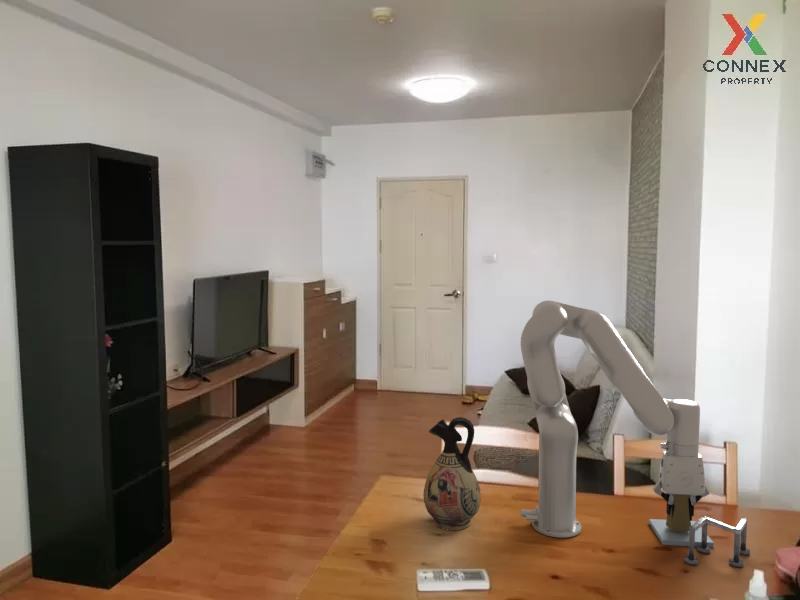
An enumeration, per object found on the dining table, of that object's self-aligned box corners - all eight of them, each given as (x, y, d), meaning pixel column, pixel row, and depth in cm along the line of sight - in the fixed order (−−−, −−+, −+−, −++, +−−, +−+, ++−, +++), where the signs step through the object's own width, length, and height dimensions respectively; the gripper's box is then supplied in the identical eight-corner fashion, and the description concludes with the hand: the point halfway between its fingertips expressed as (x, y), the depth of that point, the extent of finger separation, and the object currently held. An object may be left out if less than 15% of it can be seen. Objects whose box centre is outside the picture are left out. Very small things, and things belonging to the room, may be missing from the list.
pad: (662, 544, 150) (663, 540, 150) (649, 523, 162) (649, 519, 162) (713, 547, 149) (713, 542, 149) (695, 525, 161) (696, 521, 161)
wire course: (686, 565, 141) (687, 529, 140) (674, 546, 149) (675, 512, 149) (764, 569, 138) (765, 532, 138) (746, 549, 147) (748, 515, 147)
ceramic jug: (415, 531, 159) (414, 420, 156) (434, 508, 173) (433, 405, 170) (478, 542, 152) (478, 426, 150) (492, 517, 166) (492, 411, 164)
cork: (694, 532, 152) (695, 490, 151) (668, 530, 153) (669, 488, 152) (688, 522, 158) (689, 481, 157) (663, 519, 159) (664, 479, 158)
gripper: (652, 452, 151) (650, 522, 152) (722, 454, 149) (719, 526, 150) (644, 442, 158) (642, 510, 160) (710, 444, 156) (708, 513, 158)
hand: (679, 517), depth 155 cm, fingers closed on cork, 3 cm apart
